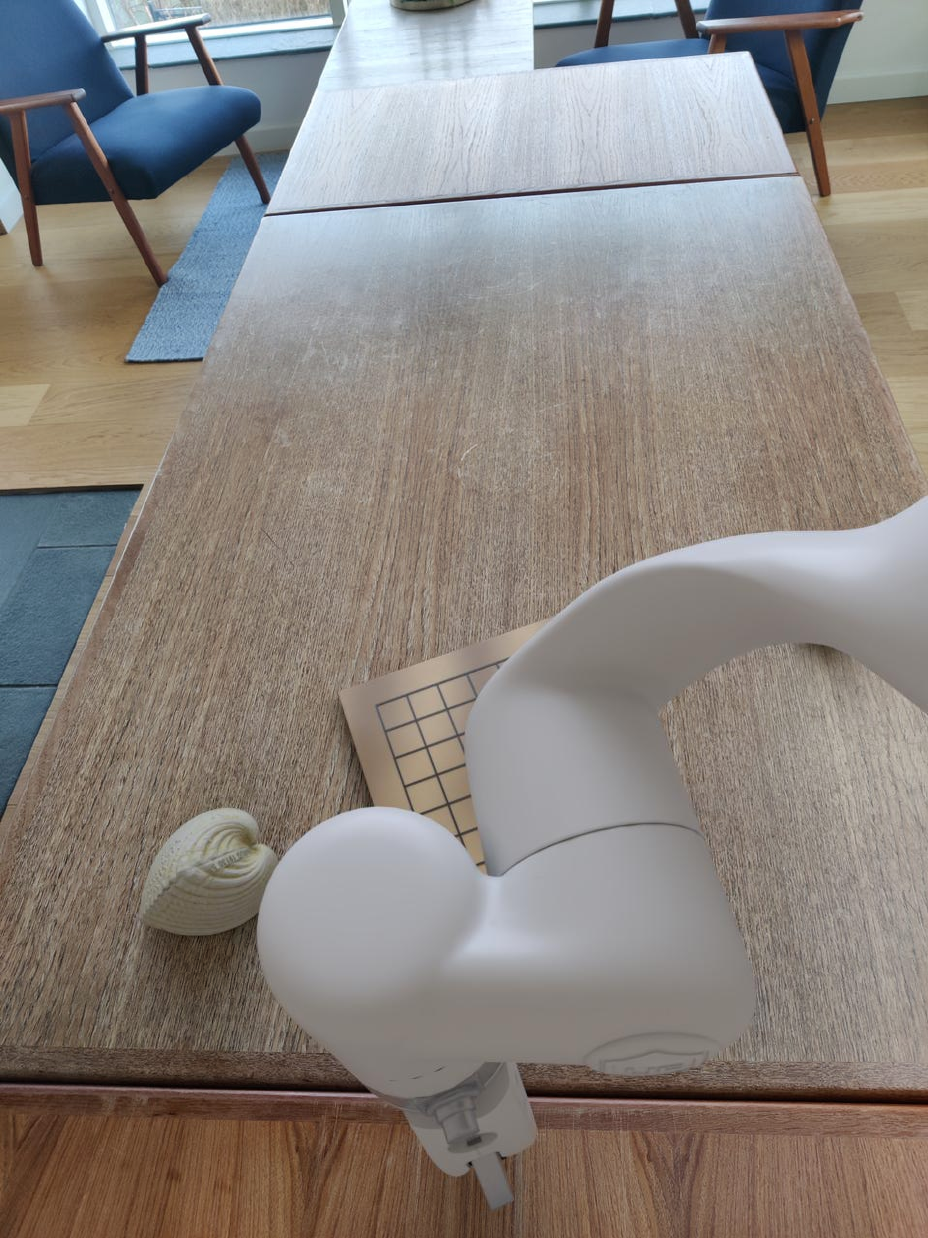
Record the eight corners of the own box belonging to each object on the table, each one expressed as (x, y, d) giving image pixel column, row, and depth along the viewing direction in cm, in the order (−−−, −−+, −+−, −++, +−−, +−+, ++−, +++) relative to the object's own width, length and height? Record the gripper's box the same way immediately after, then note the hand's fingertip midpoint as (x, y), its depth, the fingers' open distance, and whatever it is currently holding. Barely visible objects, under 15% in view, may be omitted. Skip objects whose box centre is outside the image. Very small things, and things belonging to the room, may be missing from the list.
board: (570, 620, 74) (570, 608, 72) (688, 829, 61) (690, 819, 60) (341, 701, 71) (337, 690, 70) (416, 936, 59) (413, 928, 58)
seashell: (309, 880, 60) (205, 937, 54) (260, 918, 65) (162, 973, 59) (253, 776, 61) (147, 821, 56) (210, 821, 67) (110, 866, 61)
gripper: (589, 1188, 32) (591, 1221, 47) (444, 804, 42) (483, 930, 57) (395, 1275, 31) (458, 1281, 46) (293, 862, 41) (372, 975, 56)
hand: (471, 1087), depth 51 cm, fingers closed on black stone, 3 cm apart
